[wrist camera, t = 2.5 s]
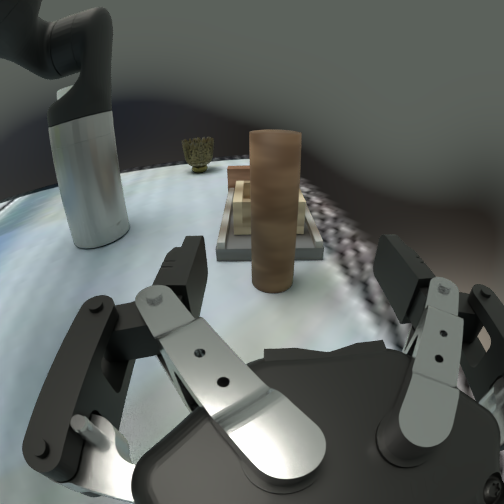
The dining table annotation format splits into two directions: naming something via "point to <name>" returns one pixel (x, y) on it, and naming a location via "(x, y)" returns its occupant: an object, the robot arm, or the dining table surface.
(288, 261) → the dowel
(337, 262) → the dining table surface
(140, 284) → the dining table surface
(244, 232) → the sliding block
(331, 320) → the dining table surface
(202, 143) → the cup
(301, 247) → the rail board
